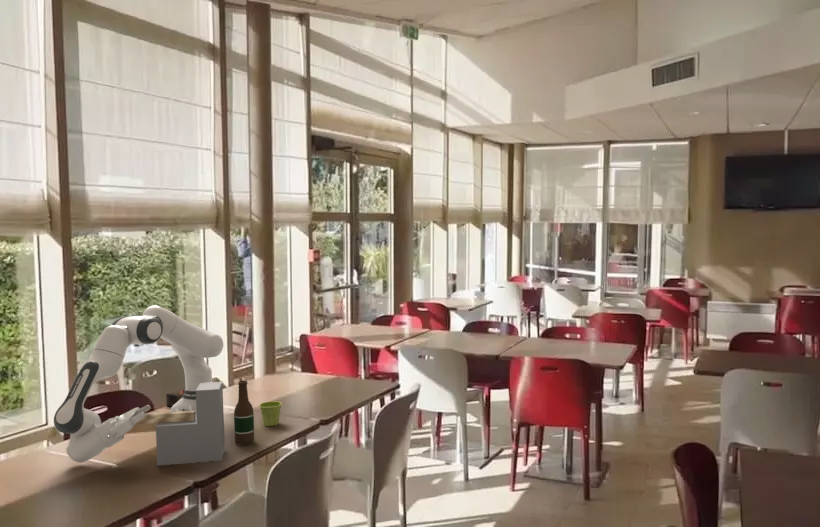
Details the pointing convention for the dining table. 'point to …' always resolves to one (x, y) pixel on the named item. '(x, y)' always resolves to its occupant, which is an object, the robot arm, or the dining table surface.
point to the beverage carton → (173, 398)
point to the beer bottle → (243, 417)
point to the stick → (168, 417)
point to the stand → (195, 431)
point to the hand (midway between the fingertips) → (147, 410)
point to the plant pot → (270, 412)
